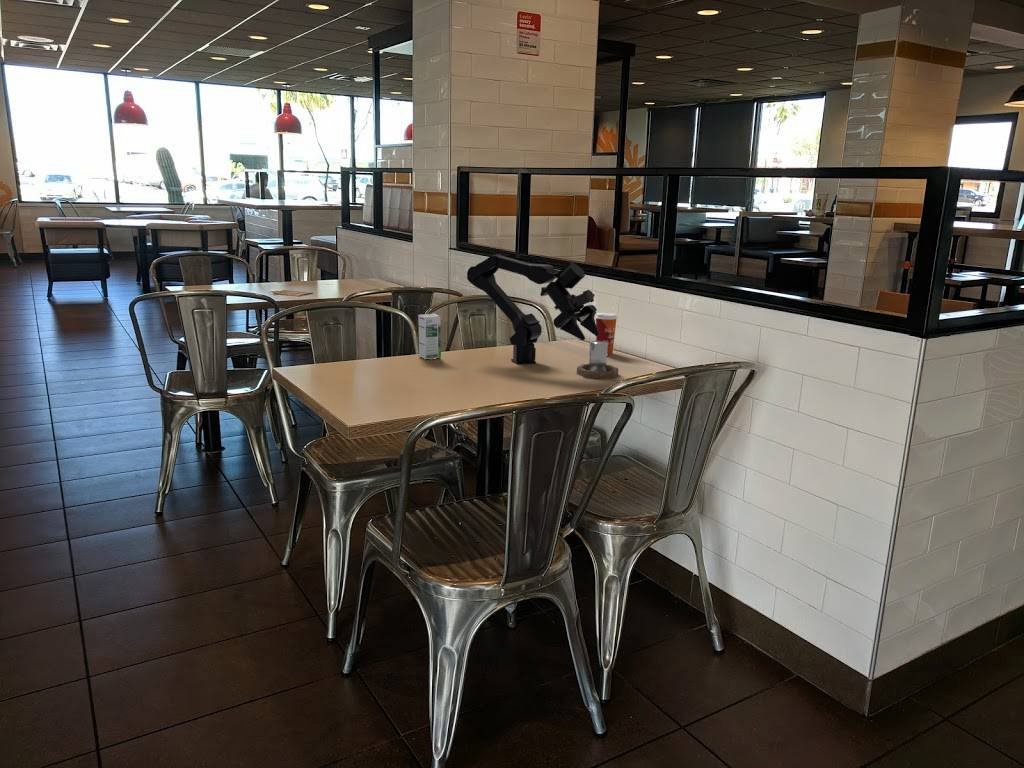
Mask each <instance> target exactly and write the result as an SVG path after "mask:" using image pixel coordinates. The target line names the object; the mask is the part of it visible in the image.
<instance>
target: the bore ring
mask: <svg viewBox="0 0 1024 768" xmlns="http://www.w3.org/2000/svg"><path fill="white" fill-rule="evenodd" d="M588 367H589V363H581V364H580V365H578V366H577V367H576V375H578V376H580V375H581V376H580V377H582V376H583V378H586V379H587V378H589V379H595V380H603V379H614V378H616V377H617V376H618V375H619V367H616V366H614V365H611V364H607V365H606V371H600V372H598V371H590V370H588Z"/></svg>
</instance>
